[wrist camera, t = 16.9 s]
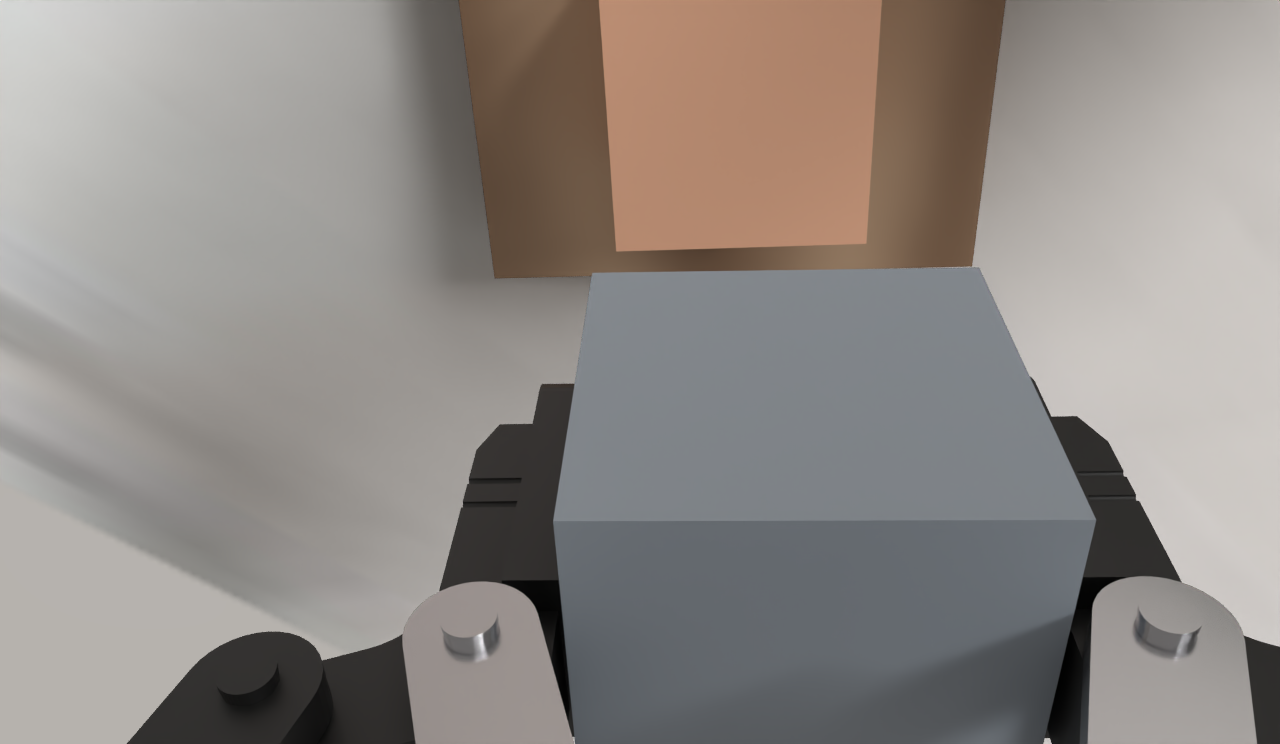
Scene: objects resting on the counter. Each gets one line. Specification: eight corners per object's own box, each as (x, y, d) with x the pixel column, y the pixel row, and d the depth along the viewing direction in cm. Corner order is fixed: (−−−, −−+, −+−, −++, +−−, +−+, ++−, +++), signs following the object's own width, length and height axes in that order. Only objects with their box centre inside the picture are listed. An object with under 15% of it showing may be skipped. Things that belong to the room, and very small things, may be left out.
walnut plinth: (1002, -248, 27) (1035, -237, 24) (949, 218, 33) (972, 266, 30) (455, -221, 27) (431, -208, 25) (509, 231, 34) (494, 278, 31)
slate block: (978, 267, 13) (1096, 520, 9) (937, 559, 16) (1017, 854, 12) (592, 272, 13) (553, 521, 10) (611, 559, 16) (585, 848, 12)
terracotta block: (850, -69, 26) (882, -14, 22) (840, 157, 29) (866, 243, 25) (612, -58, 26) (599, -2, 22) (626, 164, 29) (616, 251, 25)
